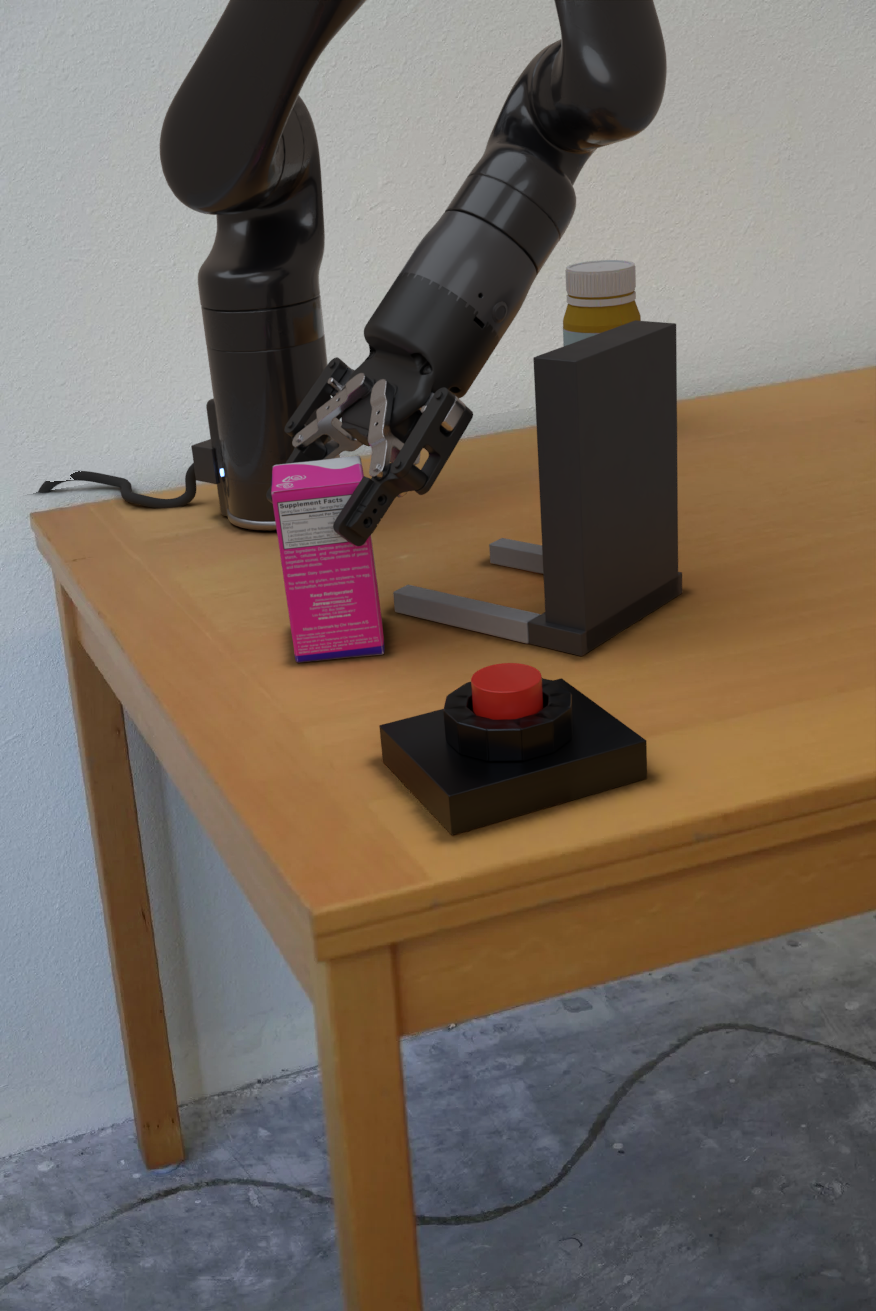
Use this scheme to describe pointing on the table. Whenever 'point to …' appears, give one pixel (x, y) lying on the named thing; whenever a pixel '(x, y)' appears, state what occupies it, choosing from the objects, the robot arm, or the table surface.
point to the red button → (507, 691)
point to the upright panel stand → (591, 497)
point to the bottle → (598, 298)
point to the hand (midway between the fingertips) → (310, 522)
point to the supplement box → (325, 562)
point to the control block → (511, 757)
